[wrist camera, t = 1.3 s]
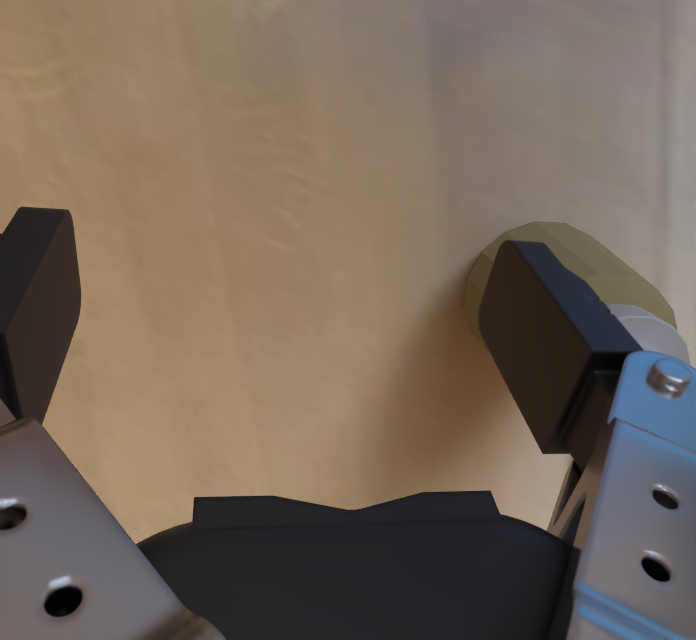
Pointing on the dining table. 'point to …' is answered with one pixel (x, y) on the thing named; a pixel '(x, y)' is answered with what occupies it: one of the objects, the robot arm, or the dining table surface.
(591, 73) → the dining table surface
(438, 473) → the dining table surface
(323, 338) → the dining table surface
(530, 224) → the squeeze bottle
